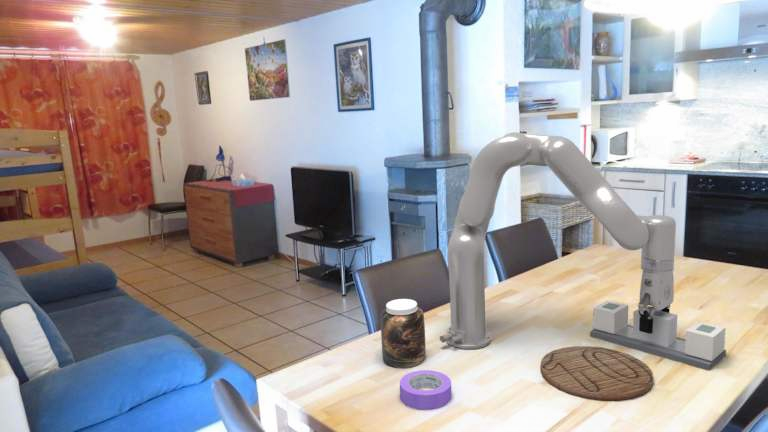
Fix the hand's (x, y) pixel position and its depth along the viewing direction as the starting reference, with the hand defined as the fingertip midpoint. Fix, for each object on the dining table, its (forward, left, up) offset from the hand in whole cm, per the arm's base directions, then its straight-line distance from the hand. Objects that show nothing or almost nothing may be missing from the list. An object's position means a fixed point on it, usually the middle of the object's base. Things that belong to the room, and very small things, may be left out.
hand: (654, 326), depth 142 cm
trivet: (-25, +3, -6) cm, 26 cm away
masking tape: (-60, +25, -6) cm, 65 cm away
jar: (-50, +43, -5) cm, 66 cm away
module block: (0, 0, -3) cm, 3 cm away
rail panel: (0, 0, -5) cm, 5 cm away
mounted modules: (0, 0, -3) cm, 3 cm away
